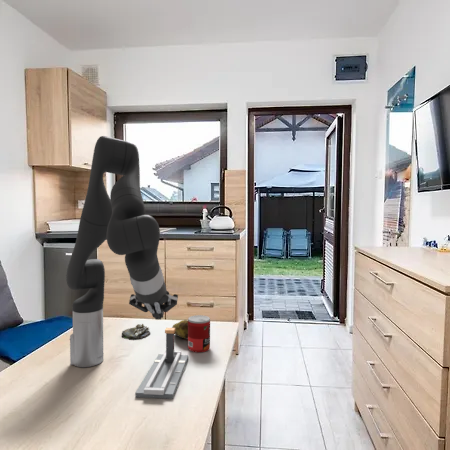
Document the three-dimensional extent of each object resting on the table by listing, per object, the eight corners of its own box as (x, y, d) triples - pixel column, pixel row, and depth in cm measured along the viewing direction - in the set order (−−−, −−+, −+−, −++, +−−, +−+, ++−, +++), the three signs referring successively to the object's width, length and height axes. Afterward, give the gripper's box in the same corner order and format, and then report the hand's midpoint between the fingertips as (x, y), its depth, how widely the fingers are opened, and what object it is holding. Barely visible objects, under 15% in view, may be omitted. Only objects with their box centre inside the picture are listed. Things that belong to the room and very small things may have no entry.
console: (134, 398, 92) (134, 389, 92) (159, 357, 118) (158, 350, 118) (172, 399, 92) (172, 390, 92) (188, 358, 118) (188, 351, 117)
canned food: (207, 353, 121) (207, 322, 121) (185, 352, 123) (185, 320, 122) (212, 345, 129) (212, 315, 129) (190, 343, 130) (191, 314, 130)
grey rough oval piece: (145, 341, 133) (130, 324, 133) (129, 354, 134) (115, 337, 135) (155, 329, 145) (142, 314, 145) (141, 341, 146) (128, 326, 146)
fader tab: (164, 362, 111) (164, 330, 110) (166, 358, 114) (166, 327, 113) (173, 362, 111) (173, 330, 110) (175, 358, 114) (175, 327, 113)
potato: (191, 332, 143) (191, 312, 142) (197, 344, 130) (197, 322, 130) (171, 334, 141) (171, 314, 140) (174, 346, 128) (174, 324, 128)
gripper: (177, 267, 87) (184, 304, 99) (123, 267, 87) (137, 304, 100) (173, 294, 81) (181, 329, 94) (116, 293, 82) (132, 329, 94)
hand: (158, 316), depth 97 cm, fingers closed
